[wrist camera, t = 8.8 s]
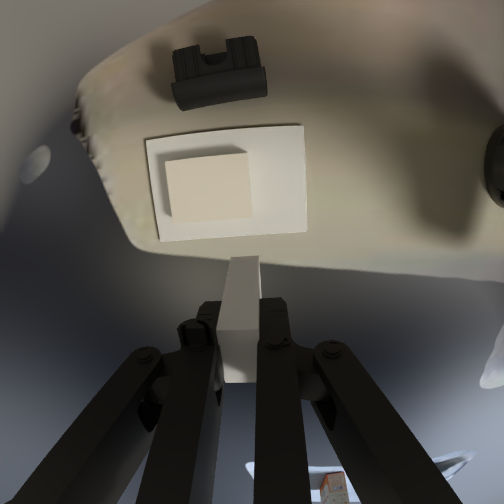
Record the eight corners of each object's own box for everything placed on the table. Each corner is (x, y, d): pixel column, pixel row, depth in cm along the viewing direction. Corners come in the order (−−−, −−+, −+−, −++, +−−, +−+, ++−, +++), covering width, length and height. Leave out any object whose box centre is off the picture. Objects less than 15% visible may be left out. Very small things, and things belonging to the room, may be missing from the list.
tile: (247, 153, 35) (164, 161, 35) (251, 217, 38) (173, 223, 38) (247, 151, 37) (169, 159, 37) (252, 213, 40) (176, 219, 40)
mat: (302, 125, 36) (303, 125, 35) (306, 230, 41) (307, 231, 41) (147, 140, 36) (145, 140, 36) (161, 240, 42) (160, 241, 41)
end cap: (187, 113, 35) (174, 110, 29) (179, 62, 33) (165, 50, 26) (266, 99, 35) (269, 93, 29) (257, 48, 32) (258, 33, 26)
